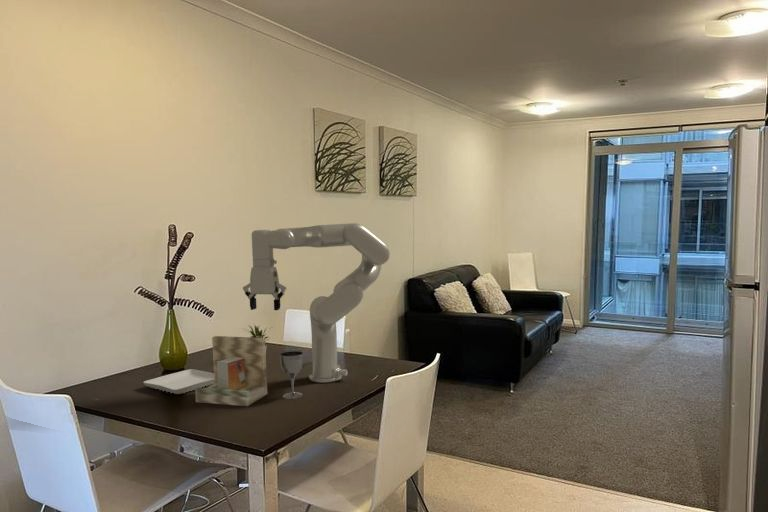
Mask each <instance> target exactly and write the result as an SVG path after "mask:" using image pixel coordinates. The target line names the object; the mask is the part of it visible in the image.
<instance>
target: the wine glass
mask: <svg viewBox="0 0 768 512" xmlns="http://www.w3.org/2000/svg"><path fill="white" fill-rule="evenodd" d="M279 362H280V367H281V370H282V372H284V374H285V375H286V376H287V377H288V378H289V380H290V381H289V382H290V384H291V386H290V387H291V392H287V393H285V394H283V395H282V398H283V399H285V400H296V399H300V398H302V397H304V394H303V393H302V392H297V391H296V392H295V380H296V379H295V378H296V377H297V376H298V374H299V373H300V372H301V370H302V368H303V363H304V352H303V351H302V350H285V351H283V352H280V353H279Z"/></svg>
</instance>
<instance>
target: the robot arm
mask: <svg viewBox="0 0 768 512" xmlns="http://www.w3.org/2000/svg"><path fill="white" fill-rule="evenodd" d="M350 246H351V247H353V248H355V250H356V251H358V253H360V254H361V261H360V263H359V266H358V267H356V269H354V270H353V271H352V272H351V273H349V274H348V275H347V276H346V277H344V278H343V279H341V280H340V281H338V282H337V283H336V284H335V286H334V287H333V291H332V293H331V294H329V296H325V295H319V296H317V297H315V298H314V299H313V300H312V301H311V303H310V305H309V319H310V328H311V329H310V330H311V354H312V355H311V357H312V373H310V374H309V375H308V379H309V381H311V382H313V383H320V384H321V383H331V382H333V383H334V382H336V381H338V380H339V381H340V380H341V379H342V377H345V376H348V370H347V369H345V368H341V365H340V364H338V345H337V341H338V338H337V336H338V335H337V334H338V333H337V332H338V331H337V323H338V322H339V321H341V319H343V318H344V317H345V316H347V314H349V313H350V312H352V311H353V310H354V309H355V308H356V307H358V305H360V304H361V302H362V300H363V298H364V292H365V291H366V290H367V289H368V288H369V287H371V285H372V284H374V283H375V281H377V279H378V278H379V276H380V272H381V269H382V265H384V264H386V263H387V262H388V260H389V259H390V254H391V253H390V249H389V247H388V246H387V245H386V243H384V242H383V241H382V240H380V239H379V238H378V237H377V236H376V235H374V234H373V233H372V232H371V231H370V230H369V229H367V227H365V226H363V225H362V224H360V223H357V222H356V223H355V222H353V223H351V222H350V223H336V224H335V223H333V224H332V223H331V224H318V225H317V224H316V225H311V226H304V227H302V226H301V227H285V228H278V229H274V230H270V229H256V230H253V231H252V233H251V251H252V267H251V269H250V276H249V283H247V284H246V285H244V286H243V287H242V289H243V292H244V294H245V296H246V297H247V299H248V300H249V306H250V310H251V311H253V310H257V298H256V297H257V295H271V296H272V297H273V298H274V299H273V311H279V310H280V309H281V299H282V297H283V296H284V295H285V293H286V290H287V287H286V286H285V285H283V284H282V283H280V279H279V273H278V270H277V266H275V265H276V264H278V263H277V262H278V261H277V260H275V258H274V249H279V250H288V249H290V248H302V247H303V248H304V247H306V248H307V247H308V248H316V249H317V248H321V249H323V248H334V247H335V248H336V247H350Z"/></svg>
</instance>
